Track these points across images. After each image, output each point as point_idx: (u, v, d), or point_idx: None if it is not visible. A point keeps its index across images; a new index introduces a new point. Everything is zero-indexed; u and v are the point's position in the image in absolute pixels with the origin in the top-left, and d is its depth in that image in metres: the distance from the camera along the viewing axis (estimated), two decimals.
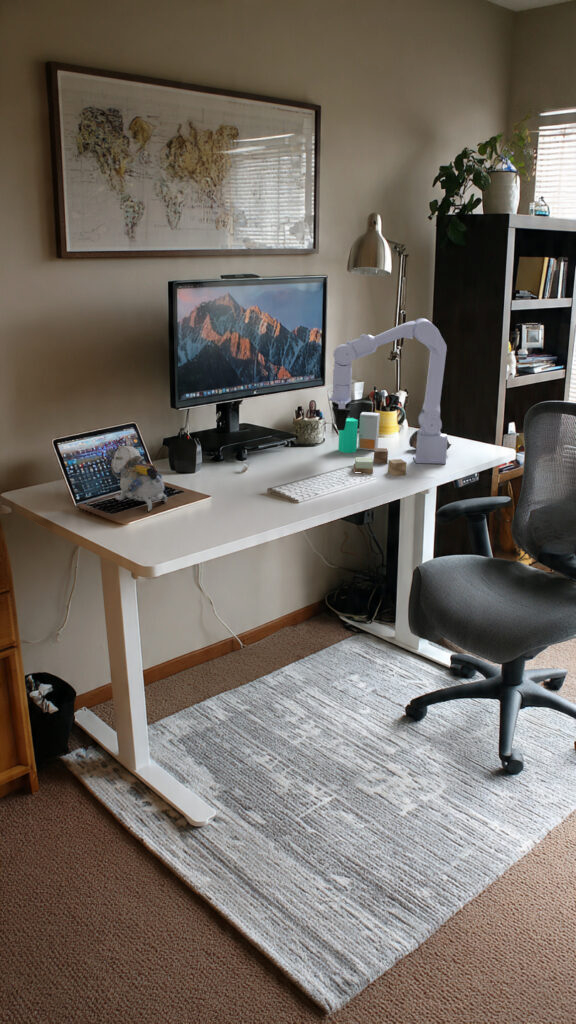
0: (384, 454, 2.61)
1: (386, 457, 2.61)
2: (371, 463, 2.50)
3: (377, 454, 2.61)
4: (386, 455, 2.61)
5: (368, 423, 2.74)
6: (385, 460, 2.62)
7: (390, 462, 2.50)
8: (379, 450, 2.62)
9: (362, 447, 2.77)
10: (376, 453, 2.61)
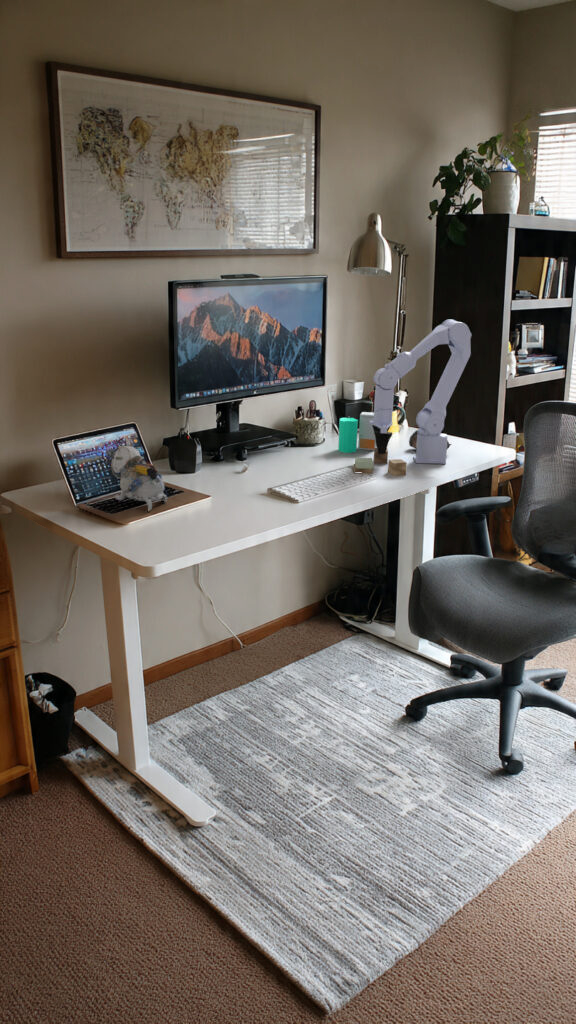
0: (384, 454, 2.61)
1: (386, 457, 2.61)
2: (371, 463, 2.50)
3: (377, 454, 2.61)
4: (386, 455, 2.61)
5: (368, 423, 2.74)
6: (385, 460, 2.62)
7: (390, 462, 2.50)
8: None
9: (362, 447, 2.77)
10: (376, 453, 2.61)
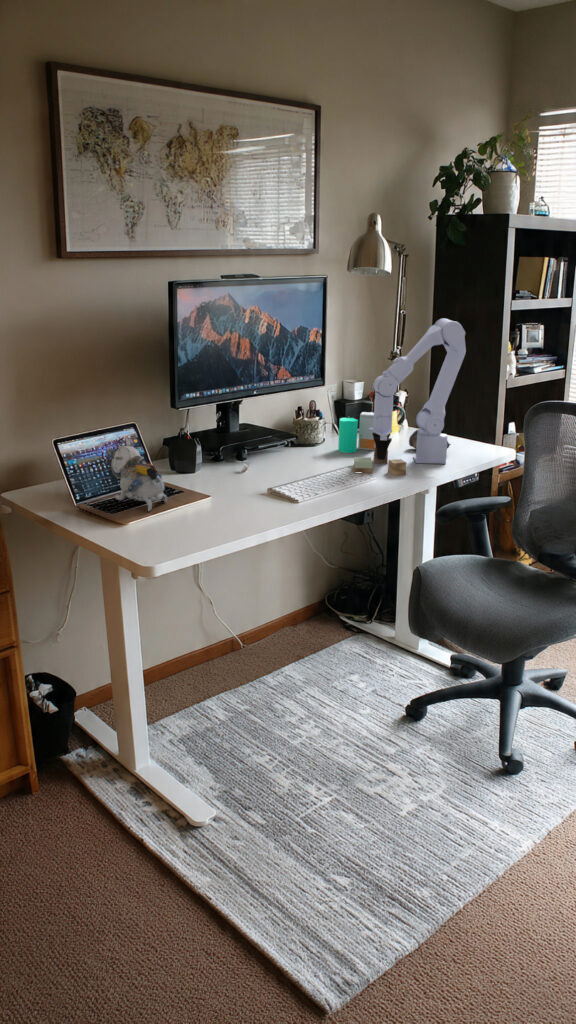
0: None
1: (386, 457, 2.61)
2: (370, 463, 2.50)
3: None
4: (386, 455, 2.61)
5: (368, 423, 2.74)
6: (385, 460, 2.61)
7: (390, 462, 2.50)
8: None
9: (362, 447, 2.77)
10: (376, 453, 2.61)
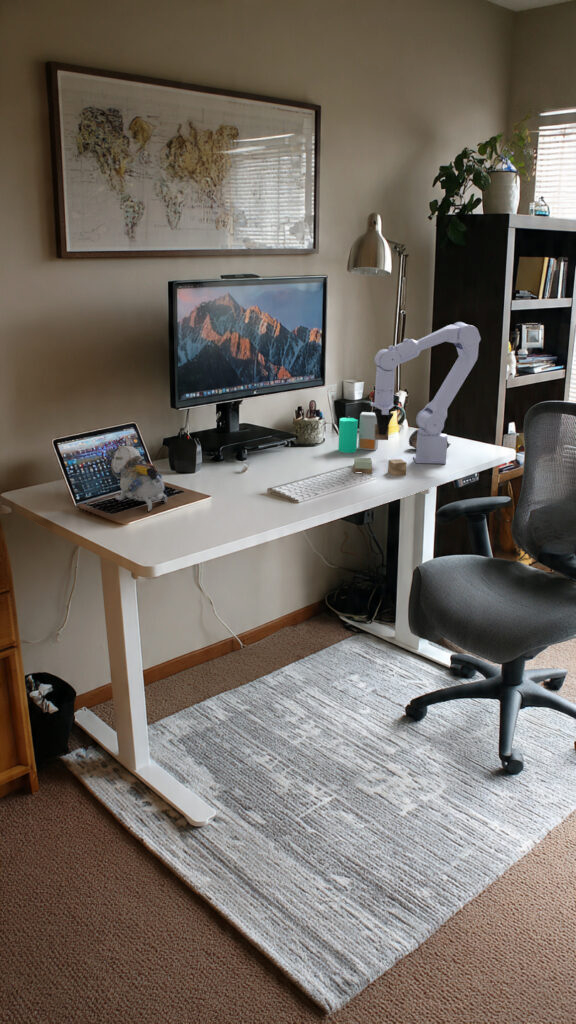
0: None
1: (387, 433, 2.59)
2: (370, 463, 2.50)
3: (377, 430, 2.58)
4: (387, 431, 2.58)
5: (368, 423, 2.74)
6: (386, 436, 2.59)
7: (390, 462, 2.50)
8: None
9: (362, 447, 2.77)
10: (377, 429, 2.58)
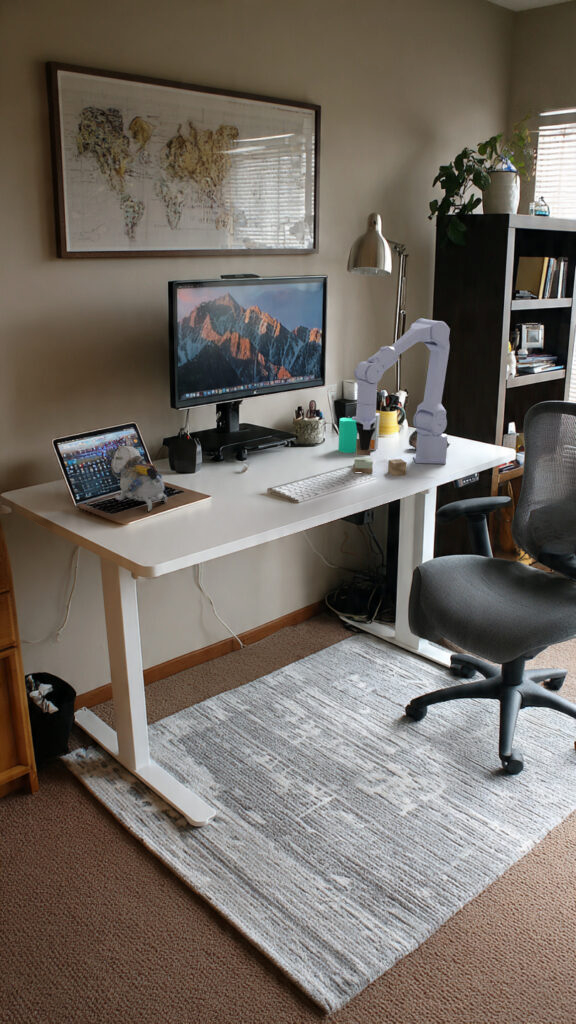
0: None
1: (369, 448, 2.49)
2: (371, 463, 2.50)
3: (359, 445, 2.49)
4: (369, 446, 2.49)
5: None
6: (368, 451, 2.50)
7: (390, 462, 2.50)
8: None
9: None
10: (358, 444, 2.49)
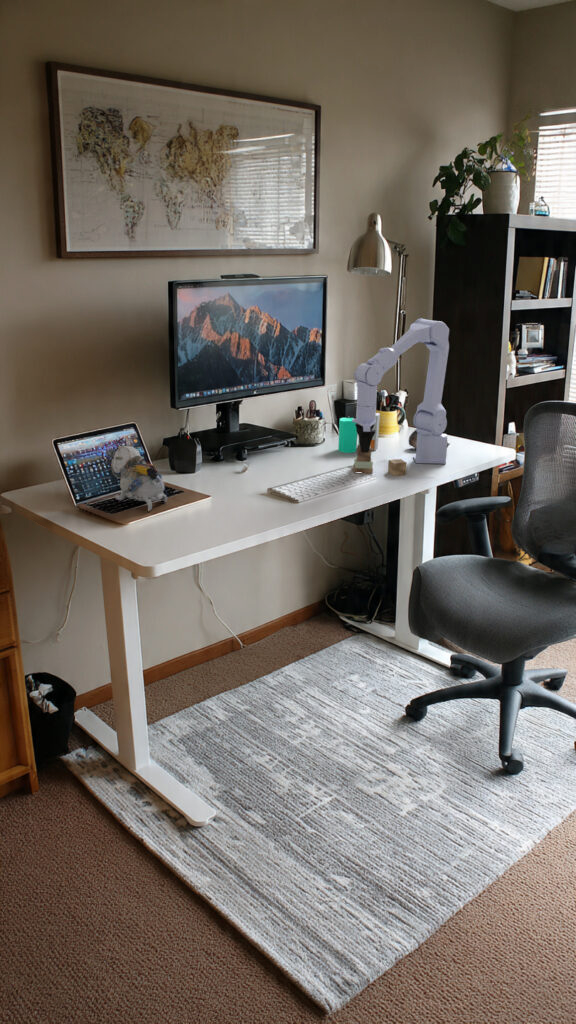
0: None
1: (369, 454, 2.50)
2: (371, 463, 2.50)
3: (359, 451, 2.49)
4: (369, 452, 2.49)
5: None
6: (368, 458, 2.50)
7: (390, 462, 2.50)
8: None
9: None
10: (359, 450, 2.49)
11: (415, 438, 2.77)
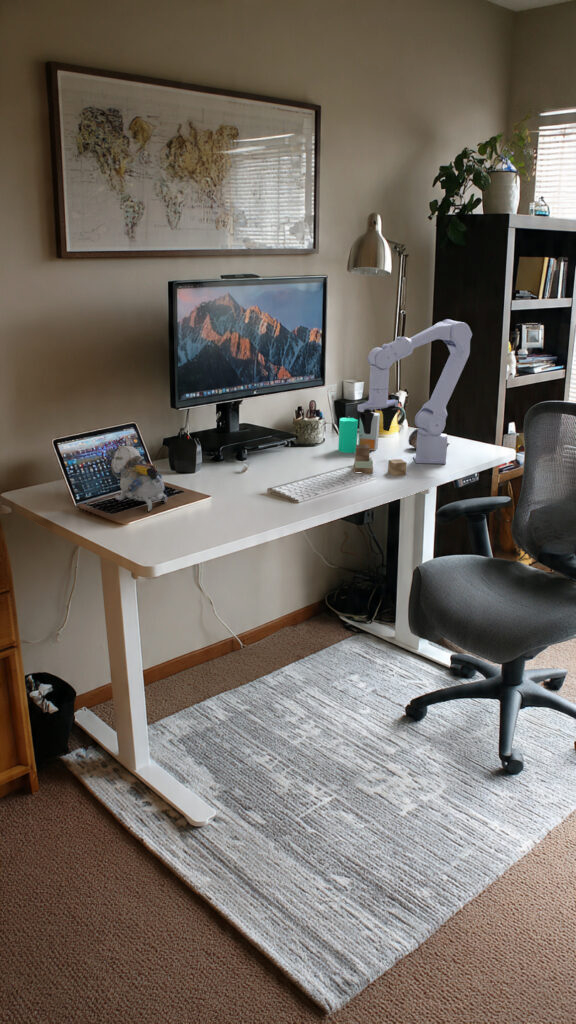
0: (366, 451, 2.50)
1: (368, 454, 2.50)
2: (371, 463, 2.50)
3: (358, 450, 2.50)
4: (368, 452, 2.50)
5: None
6: (367, 457, 2.50)
7: (390, 462, 2.50)
8: (361, 447, 2.51)
9: None
10: (357, 450, 2.50)
11: (415, 438, 2.77)
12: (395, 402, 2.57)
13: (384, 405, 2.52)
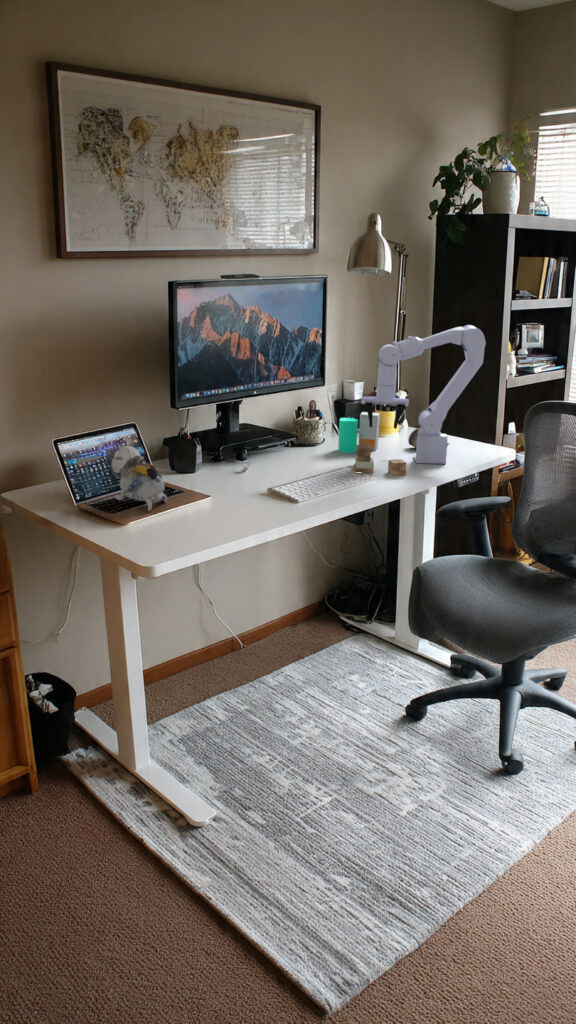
0: (367, 451, 2.50)
1: (369, 454, 2.50)
2: (372, 463, 2.50)
3: (359, 451, 2.50)
4: (369, 452, 2.50)
5: (368, 423, 2.74)
6: (368, 457, 2.50)
7: (390, 462, 2.50)
8: (362, 447, 2.50)
9: None
10: (358, 450, 2.50)
11: (415, 437, 2.77)
12: (404, 401, 2.59)
13: (385, 401, 2.57)
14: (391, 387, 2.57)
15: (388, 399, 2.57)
